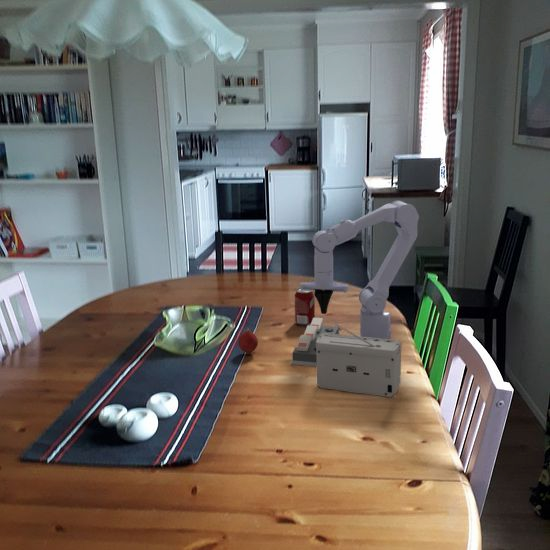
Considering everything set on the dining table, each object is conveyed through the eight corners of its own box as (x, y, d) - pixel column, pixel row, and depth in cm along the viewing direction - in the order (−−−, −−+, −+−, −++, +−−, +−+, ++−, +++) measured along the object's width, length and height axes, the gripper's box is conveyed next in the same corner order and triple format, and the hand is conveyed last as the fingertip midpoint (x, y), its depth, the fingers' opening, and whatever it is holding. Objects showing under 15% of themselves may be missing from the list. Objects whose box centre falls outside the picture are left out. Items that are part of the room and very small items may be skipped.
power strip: (339, 333, 181) (339, 322, 181) (322, 367, 156) (321, 355, 155) (312, 331, 184) (312, 321, 183) (291, 364, 159) (290, 352, 158)
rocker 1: (311, 339, 165) (311, 335, 164) (307, 351, 160) (306, 347, 159) (301, 338, 165) (301, 334, 165) (296, 350, 161) (296, 346, 160)
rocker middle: (317, 329, 172) (317, 326, 171) (313, 341, 167) (313, 338, 166) (307, 328, 173) (307, 325, 172) (303, 340, 168) (302, 337, 167)
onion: (235, 355, 166) (234, 330, 164) (245, 349, 171) (244, 324, 169) (252, 359, 164) (251, 333, 162) (261, 352, 169) (260, 327, 166)
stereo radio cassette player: (400, 386, 144) (402, 312, 139) (396, 401, 136) (398, 323, 131) (322, 376, 151) (321, 306, 146) (313, 390, 143) (312, 316, 138)
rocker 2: (323, 321, 179) (323, 318, 179) (319, 332, 174) (319, 328, 174) (313, 320, 180) (313, 317, 180) (309, 331, 175) (309, 327, 175)
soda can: (307, 328, 188) (307, 293, 185) (291, 324, 192) (290, 290, 189) (318, 322, 193) (318, 289, 190) (302, 318, 197) (301, 286, 194)
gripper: (349, 268, 171) (349, 310, 175) (303, 266, 175) (304, 307, 179) (345, 274, 165) (345, 317, 168) (298, 271, 169) (299, 314, 172)
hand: (324, 312), depth 173 cm, fingers closed
